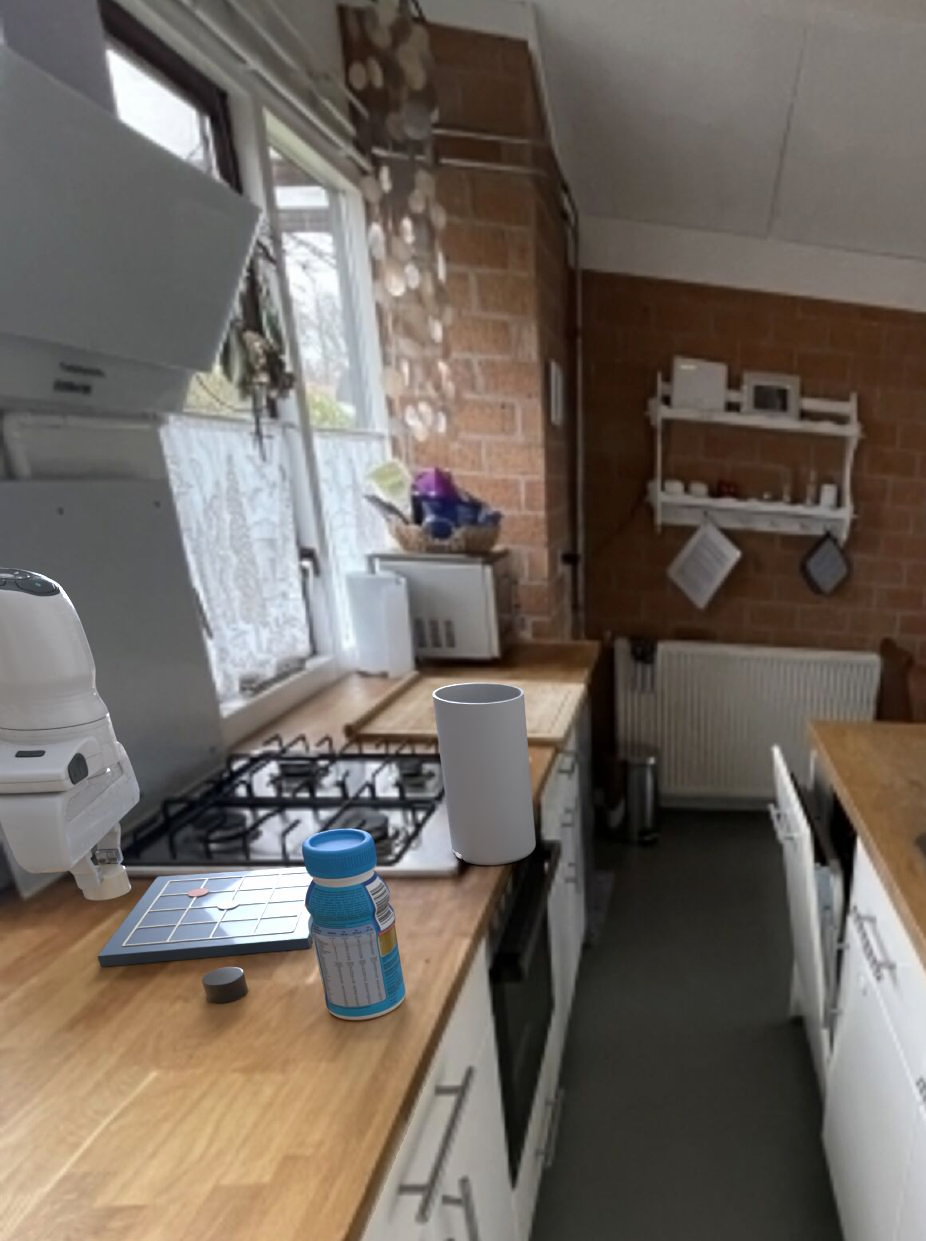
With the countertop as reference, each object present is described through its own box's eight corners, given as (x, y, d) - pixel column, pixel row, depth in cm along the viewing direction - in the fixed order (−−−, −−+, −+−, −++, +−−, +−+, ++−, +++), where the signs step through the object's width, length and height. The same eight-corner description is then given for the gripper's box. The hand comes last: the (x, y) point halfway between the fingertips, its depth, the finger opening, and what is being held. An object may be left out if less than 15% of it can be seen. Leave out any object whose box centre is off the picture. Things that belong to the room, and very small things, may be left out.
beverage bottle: (344, 1032, 94) (309, 863, 85) (313, 999, 99) (278, 836, 90) (420, 1004, 100) (396, 842, 91) (388, 974, 105) (361, 818, 96)
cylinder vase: (510, 872, 132) (494, 708, 121) (435, 860, 134) (413, 697, 123) (550, 841, 143) (539, 688, 132) (480, 830, 145) (464, 679, 134)
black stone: (202, 1005, 97) (197, 987, 96) (212, 986, 100) (207, 968, 99) (243, 1001, 98) (238, 983, 97) (251, 982, 102) (247, 964, 101)
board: (100, 967, 103) (96, 954, 102) (160, 886, 121) (156, 875, 120) (310, 948, 109) (307, 936, 108) (336, 874, 128) (333, 864, 127)
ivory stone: (77, 902, 90) (70, 881, 89) (93, 885, 93) (86, 864, 92) (123, 899, 91) (116, 878, 90) (137, 882, 94) (130, 862, 93)
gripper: (67, 718, 93) (104, 838, 99) (-33, 782, 76) (20, 923, 82) (136, 717, 95) (169, 835, 101) (55, 779, 77) (100, 917, 84)
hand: (102, 875), depth 91 cm, fingers closed on ivory stone, 4 cm apart
